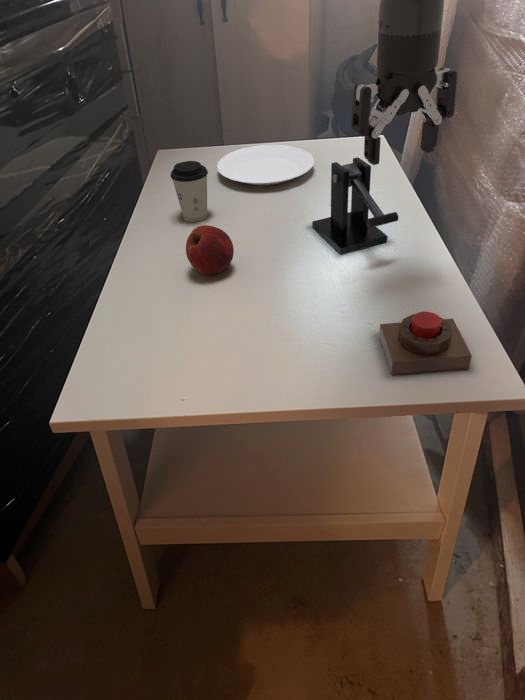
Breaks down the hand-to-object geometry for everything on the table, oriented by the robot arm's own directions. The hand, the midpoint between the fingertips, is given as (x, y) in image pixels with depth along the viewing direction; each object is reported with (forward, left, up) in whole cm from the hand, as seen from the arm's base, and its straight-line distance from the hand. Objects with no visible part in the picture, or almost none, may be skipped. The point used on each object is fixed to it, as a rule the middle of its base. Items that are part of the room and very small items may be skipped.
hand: (400, 156), depth 81 cm
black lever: (+7, -7, -11) cm, 14 cm away
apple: (+27, +9, -19) cm, 35 cm away
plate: (+36, -30, -19) cm, 51 cm away
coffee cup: (+40, -7, -19) cm, 45 cm away
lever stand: (+10, -10, -19) cm, 24 cm away
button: (-10, +17, -15) cm, 25 cm away
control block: (-10, +17, -19) cm, 27 cm away
